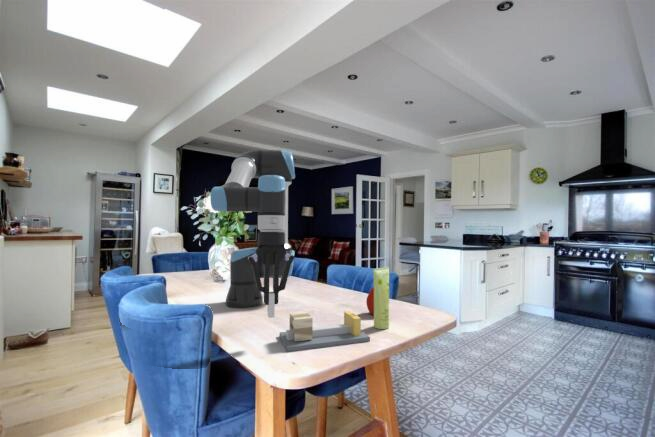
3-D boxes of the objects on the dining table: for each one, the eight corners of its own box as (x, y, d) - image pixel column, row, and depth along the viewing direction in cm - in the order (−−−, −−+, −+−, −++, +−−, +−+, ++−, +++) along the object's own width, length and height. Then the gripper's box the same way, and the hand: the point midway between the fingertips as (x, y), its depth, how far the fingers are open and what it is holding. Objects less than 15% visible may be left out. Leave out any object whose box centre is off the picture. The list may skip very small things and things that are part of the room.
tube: (389, 330, 100) (389, 268, 100) (373, 329, 101) (373, 268, 101) (389, 325, 105) (388, 266, 106) (373, 324, 106) (373, 266, 107)
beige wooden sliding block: (289, 333, 93) (289, 312, 93) (305, 331, 95) (306, 311, 95) (294, 341, 86) (294, 319, 86) (312, 339, 88) (312, 317, 88)
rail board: (279, 336, 94) (279, 315, 95) (353, 328, 102) (353, 308, 102) (287, 351, 83) (287, 328, 83) (369, 341, 91) (369, 319, 91)
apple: (384, 318, 113) (384, 288, 113) (362, 315, 117) (362, 286, 117) (391, 313, 120) (391, 284, 120) (370, 310, 124) (370, 282, 124)
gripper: (248, 231, 83) (247, 322, 82) (297, 231, 87) (297, 317, 86) (246, 230, 90) (245, 314, 89) (291, 230, 94) (291, 310, 93)
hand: (270, 316), depth 87 cm, fingers closed
